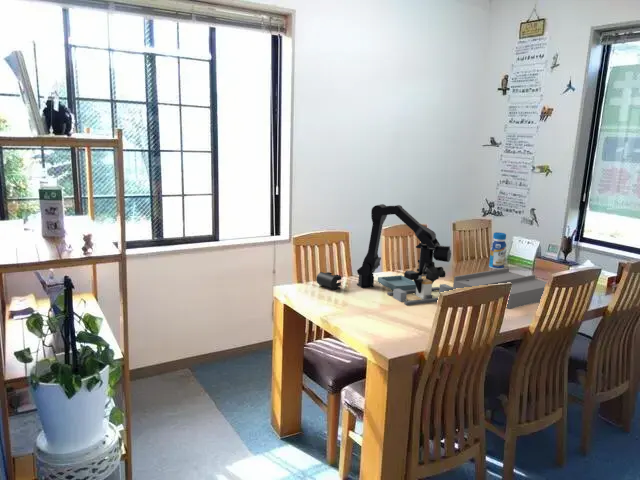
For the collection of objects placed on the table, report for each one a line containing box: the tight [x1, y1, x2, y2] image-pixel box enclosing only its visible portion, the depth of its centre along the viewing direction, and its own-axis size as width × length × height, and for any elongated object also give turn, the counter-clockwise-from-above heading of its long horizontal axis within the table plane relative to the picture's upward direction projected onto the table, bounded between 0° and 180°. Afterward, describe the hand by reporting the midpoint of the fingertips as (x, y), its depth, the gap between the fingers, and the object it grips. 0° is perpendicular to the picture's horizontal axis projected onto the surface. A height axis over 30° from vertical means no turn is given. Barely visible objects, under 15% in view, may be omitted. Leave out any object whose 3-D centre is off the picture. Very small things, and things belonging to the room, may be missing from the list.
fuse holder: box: [386, 283, 454, 306], centre depth 225 cm, size 28×16×4 cm, turn 114°
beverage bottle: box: [488, 232, 507, 270], centre depth 284 cm, size 8×8×20 cm
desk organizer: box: [452, 267, 548, 310], centre depth 236 cm, size 32×40×7 cm
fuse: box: [415, 277, 433, 299], centre depth 225 cm, size 4×6×8 cm, turn 24°
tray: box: [377, 274, 416, 291], centre depth 242 cm, size 14×17×2 cm
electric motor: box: [316, 271, 342, 291], centre depth 234 cm, size 10×7×7 cm
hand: (423, 292), depth 225 cm, fingers closed on fuse, 4 cm apart
